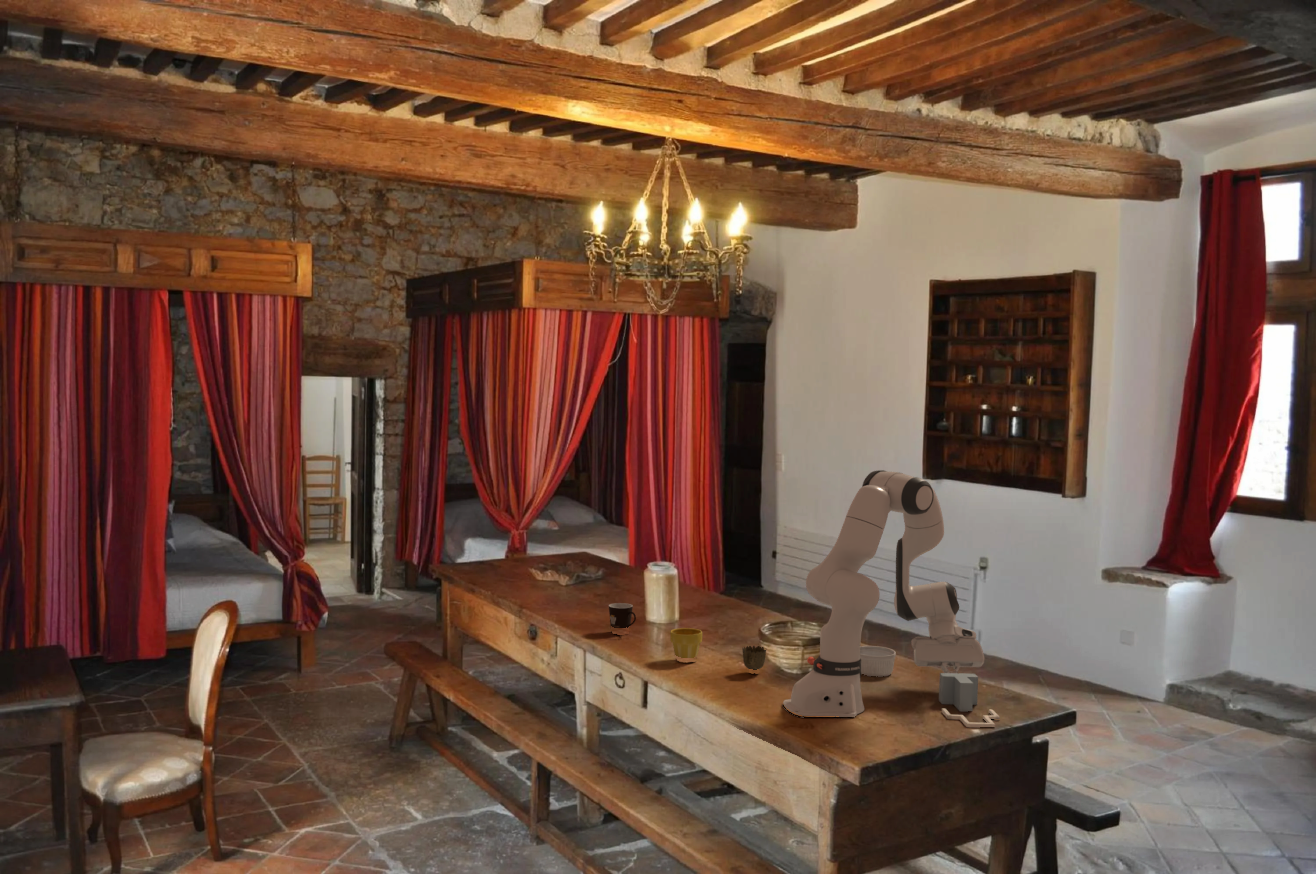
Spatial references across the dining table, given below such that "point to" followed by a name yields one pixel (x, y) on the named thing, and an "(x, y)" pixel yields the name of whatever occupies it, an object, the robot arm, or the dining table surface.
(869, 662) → the ramekin
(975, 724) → the t outline
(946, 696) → the t block
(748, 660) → the cup
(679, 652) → the plant pot
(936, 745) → the dining table surface
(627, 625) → the coffee mug
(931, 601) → the robot arm
